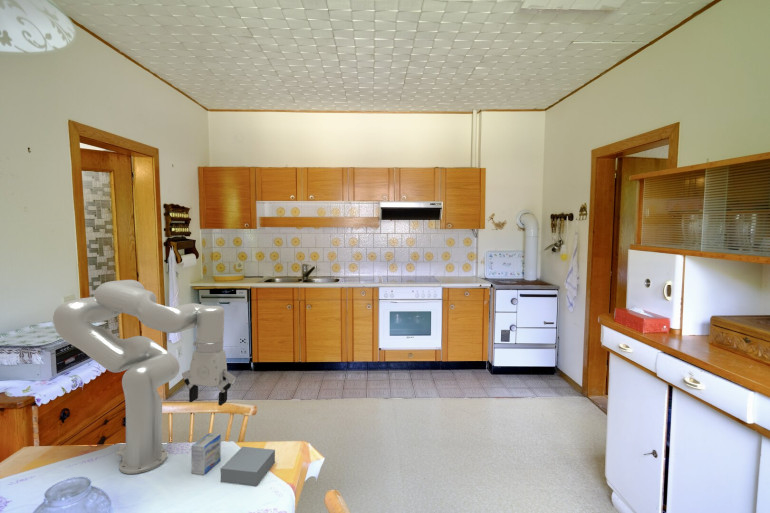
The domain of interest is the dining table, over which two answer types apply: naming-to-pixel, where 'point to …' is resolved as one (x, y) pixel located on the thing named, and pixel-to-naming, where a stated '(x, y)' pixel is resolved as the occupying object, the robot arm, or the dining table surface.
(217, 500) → the dining table surface
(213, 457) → the medicine box
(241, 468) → the base block
